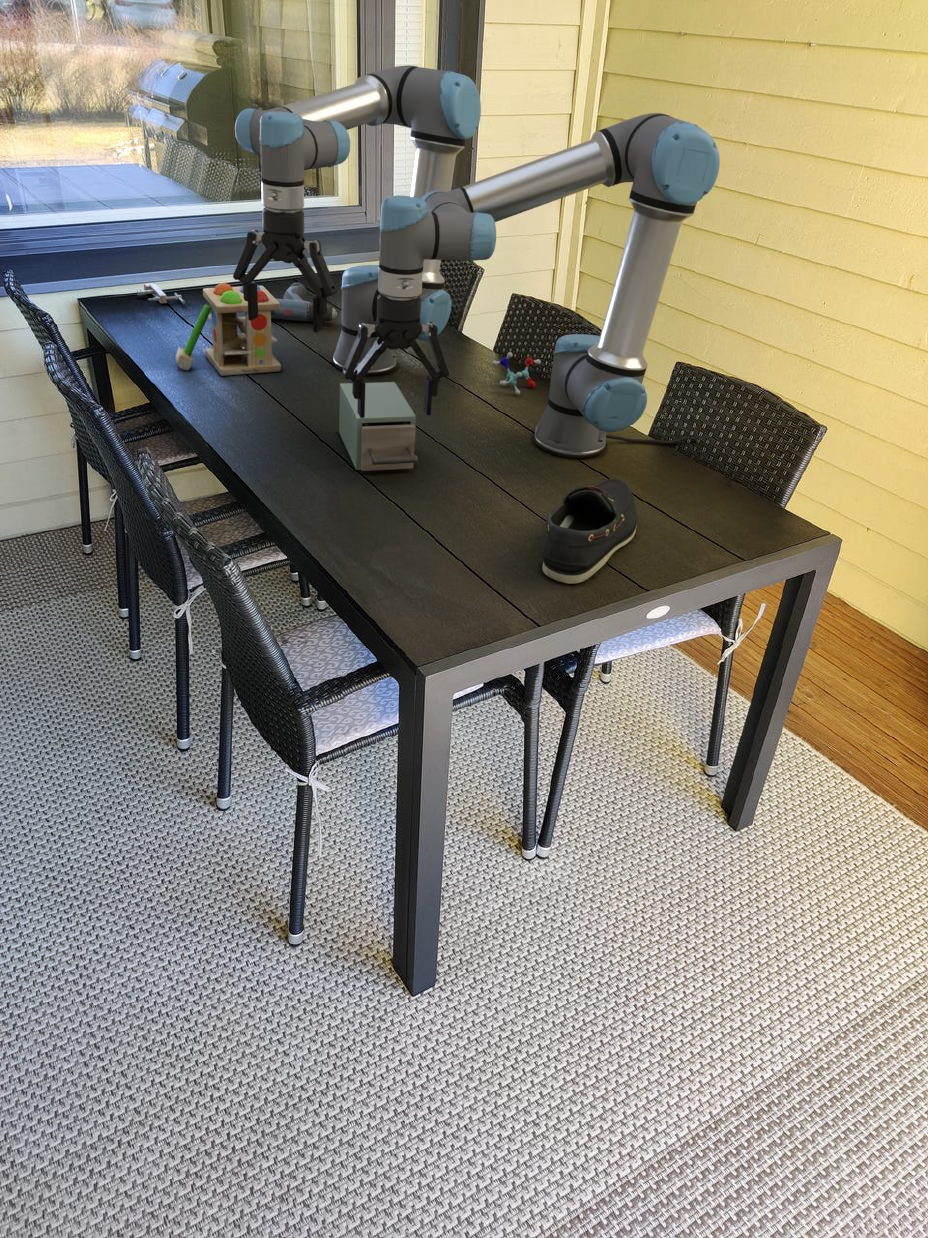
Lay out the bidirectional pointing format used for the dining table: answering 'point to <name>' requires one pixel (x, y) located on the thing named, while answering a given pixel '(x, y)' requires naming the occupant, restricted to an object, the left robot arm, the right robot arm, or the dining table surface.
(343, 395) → the cabinet
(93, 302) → the dining table surface
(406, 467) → the drawer
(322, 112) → the left robot arm
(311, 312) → the power drill
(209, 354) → the pounding bench toy
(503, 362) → the molecular model
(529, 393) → the dining table surface
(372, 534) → the dining table surface
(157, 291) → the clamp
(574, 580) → the boat shoe
